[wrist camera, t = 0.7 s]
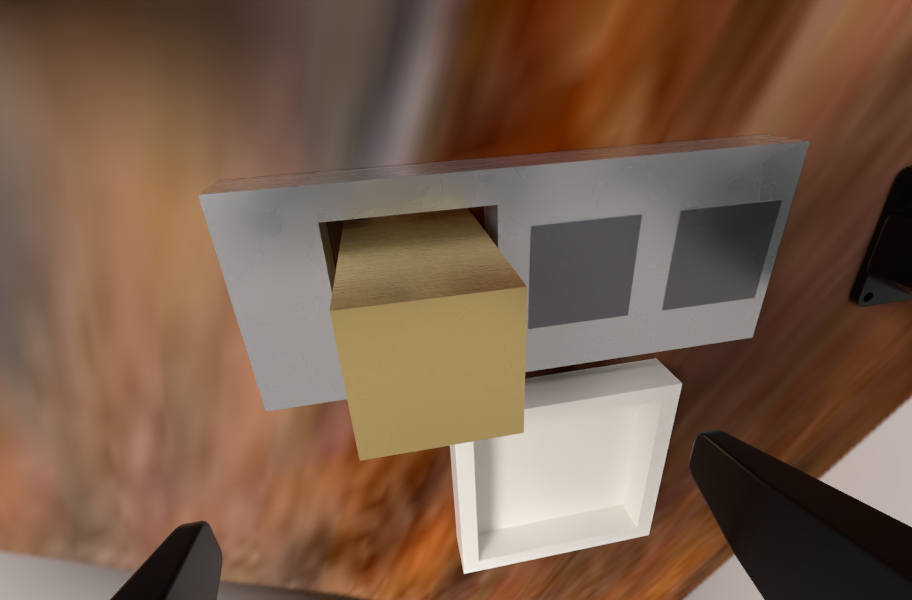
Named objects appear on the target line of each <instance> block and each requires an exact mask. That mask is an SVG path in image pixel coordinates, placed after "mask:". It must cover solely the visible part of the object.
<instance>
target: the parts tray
mask: <svg viewBox="0 0 912 600" xmlns="http://www.w3.org/2000/svg"><path fill="white" fill-rule="evenodd" d="M681 387H682V383H681V382H680V381H679V380H678V379H677V378H676V377H675V376H674V375H673V374H672V373H671V372H670V371H669V370H668V369H667V368H666V367H665V366H664V365H663V364H662V363H661V362H660V361H659V360H658V359H657V358H654V359H648V360H641V361H635V362H628V363H622V364H615V365H609V366H602V367H596V368H589V369H583V370H576V371H570V372H563V373H557V374H550V375H544V376H537V377H531V378H525V401H524V433H520V434H514V435H508V436H502V437H496V438H490V439H484V440H479V441H473V442H467V443H461V444H455V445H450V453H451V466H452V479H453V492H454V505H455V518H456V531H457V540H458V546H459V551H460V556H461V561H462V566H463V571H464V574H466V573H471V572H476V571H480V570H485V569H490V568H495V567H499V566H504V565H509V564H514V563H518V562H523V561H528V560H533V559H537V558H542V557H547V556H552V555H556V554H561V553H566V552H571V551H575V550H580V549H585V548H590V547H595V546H599V545H604V544H609V543H614V542H618V541H623V540H628V539H633V538H637V537H642V536H647V535H649V532H650V527H651V523H652V518H653V514H654V509H655V505H656V500H657V496H658V491H659V487H660V482H661V478H662V473H663V469H664V464H665V460H666V455H667V451H668V446H669V442H670V437H671V433H672V428H673V424H674V419H675V414H676V410H677V405H678V401H679V396H680V392H681Z"/></svg>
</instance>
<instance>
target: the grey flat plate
mask: <svg viewBox="0 0 912 600" xmlns="http://www.w3.org/2000/svg"><path fill="white" fill-rule="evenodd" d="M809 142H810V141H807V140H800V139H793V138H786V137H780V136H773V135H766V134H763V135H751V136H739V137H727V138H716V139H704V140H692V141H680V142H668V143H657V144H645V145H633V146H621V147H609V148H598V149H586V150H574V151H562V152H550V153H539V154H527V155H515V156H503V157H492V158H480V159H468V160H456V161H444V162H433V163H421V164H409V165H397V166H385V167H374V168H362V169H350V170H338V171H327V172H315V173H303V174H291V175H279V176H268V177H256V178H244V179H232V180H220V181H217V182H216V183H214V184H213V185H211V186H210V187H209V188H207V189H206V190H204V191H203V192H202V193H200V194H199V195H198V197H199V200H200V203H201V206H202V210H203V213H204V216H205V219H206V222H207V225H208V229H209V232H210V235H211V238H212V241H213V245H214V248H215V251H216V254H217V257H218V260H219V264H220V267H221V270H222V273H223V276H224V280H225V283H226V286H227V289H228V292H229V295H230V299H231V302H232V305H233V308H234V311H235V315H236V318H237V321H238V324H239V327H240V330H241V334H242V337H243V340H244V343H245V346H246V350H247V353H248V356H249V359H250V362H251V365H252V369H253V372H254V375H255V378H256V381H257V385H258V388H259V391H260V394H261V397H262V401H263V404H264V407H265V410H266V411H272V410H279V409H285V408H292V407H299V406H305V405H312V404H318V403H325V402H331V401H338V400H345V399H347V395H346V390H345V385H344V381H343V376H342V371H341V366H340V361H339V356H338V351H337V346H336V341H335V337H334V332H333V327H332V322H331V317H330V312H329V310H330V304H331V298H332V292H333V286H334V279H335V273H336V269H335V264H334V259H333V254H332V248H331V243H330V238H329V232H328V227H327V222H329V221H339V220H349V219H359V218H370V217H380V216H390V215H400V214H410V213H420V212H430V211H440V210H450V209H460V208H470V207H480V206H484V230H485V232H486V233H487V234H488V236H489V237H490V238H491V240H492V241H493V242H494V244H495V245H496V246H497V247H498V249H499V250H500V251H501V253H502V254H503V255H504V257H505V258H506V259H507V261H508V262H509V263H510V265H511V266H512V267H513V269H514V270H515V271H516V273H517V274H518V275H519V277H520V278H521V279H522V280H523V282H524V283H525V284H526V286H527V314H526V358H525V372H529V371H536V370H542V369H549V368H555V367H562V366H568V365H575V364H582V363H588V362H595V361H601V360H608V359H615V358H621V357H628V356H634V355H641V354H647V353H654V352H661V351H667V350H674V349H680V348H687V347H694V346H700V345H707V344H713V343H720V342H726V341H733V340H740V339H746V338H752V337H753V334H754V330H755V327H756V324H757V320H758V317H759V313H760V310H761V307H762V303H763V300H764V296H765V293H766V289H767V286H768V283H769V279H770V276H771V272H772V269H773V265H774V262H775V259H776V255H777V252H778V248H779V245H780V242H781V238H782V235H783V231H784V228H785V224H786V221H787V218H788V214H789V211H790V207H791V204H792V201H793V197H794V194H795V190H796V187H797V183H798V180H799V177H800V173H801V170H802V166H803V163H804V160H805V156H806V153H807V149H808V146H809Z"/></svg>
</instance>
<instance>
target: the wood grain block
mask: <svg viewBox="0 0 912 600" xmlns="http://www.w3.org/2000/svg"><path fill="white" fill-rule="evenodd" d="M329 312H330V317H331V322H332V327H333V332H334V337H335V341H336V346H337V351H338V356H339V361H340V366H341V371H342V376H343V381H344V385H345V390H346V395H347V400H348V405H349V410H350V415H351V420H352V424H353V429H354V434H355V439H356V444H357V449H358V454H359V459H360V461H361V460H366V459H372V458H378V457H384V456H390V455H396V454H402V453H408V452H414V451H420V450H425V449H431V448H437V447H443V446H449V445H455V444H461V443H467V442H473V441H479V440H484V439H490V438H496V437H502V436H508V435H514V434H520V433H524V401H525V358H526V314H527V286H526V284H525V283H524V282H523V280H522V279H521V278H520V277H519V275H518V274H517V273H516V271H515V270H514V269H513V267H512V266H511V265H510V263H509V262H508V261H507V259H506V258H505V257H504V255H503V254H502V253H501V251H500V250H499V249H498V247H497V246H496V245H495V244H494V242H493V241H492V240H491V238H490V237H489V236H488V234H487V233H486V232H485V230H484V229H483V228H482V226H481V225H480V224H479V222H478V221H477V220H476V218H475V217H474V216H473V214H472V213H471V212H470V211H469V209H468V208H466V209H456V210H446V211H436V212H426V213H416V214H405V215H395V216H385V217H375V218H365V219H355V220H345V221H344V224H343V230H342V236H341V242H340V249H339V255H338V261H337V267H336V273H335V279H334V286H333V292H332V298H331V304H330V310H329Z"/></svg>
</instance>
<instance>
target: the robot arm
mask: <svg viewBox="0 0 912 600" xmlns="http://www.w3.org/2000/svg"><path fill="white" fill-rule="evenodd" d="M911 299H912V166H909V167H906V168H905V169H903V170H902V171H901V172H900V174H899V175H898V177H897V179H896V181H895V184H894V186H893V189H892V191H891V194H890V196H889V199H888V202H887V204H886V207H885V209H884V212H883V214H882V217H881V220H880V222H879V225H878V227H877V230H876V232H875V235H874V237H873V240H872V243H871V245H870V248H869V250H868V253H867V255H866V258H865V261H864V263H863V266H862V268H861V271H860V273H859V276H858V278H857V281H856V284H855V286H854V289H853V291H852V294H851V301H852V302H853V303H856V304H858V305H860V306H871V305H877V304H884V303H891V302H898V301H905V300H911ZM689 468H690V472H691V475H692V477H693V479H694V481H695V483H696V485H697V486H698V488H699V490H700V492H701V494H702V496H703V498H704V499H705V501H706V503H707V505H708V507H709V509H710V510H711V512H712V514H713V516H714V518H715V520H716V522H717V523H718V525H719V527H720V529H721V531H722V533H723V534H724V536H725V538H726V540H727V542H728V543H729V545H730V547H731V549H732V550H733V552H734V554H735V555H736V557H737V558H738V560H739V561H740V563H741V565H742V566H743V568H744V569H745V571H746V572H747V574H748V575H749V577H750V578H751V580H752V581H753V583H754V584H755V586H756V587H757V589H758V590H759V592H760V593H761V595H762V596H763V598H764V599H765V600H912V527H910V526H908V525H906V524H904V523H902V522H900V521H898V520H896V519H894V518H892V517H890V516H888V515H886V514H884V513H883V512H880V511H878V510H877V509H875V508H873V507H871V506H869V505H867V504H865V503H863V502H861V501H859V500H857V499H855V498H853V497H851V496H849V495H847V494H845V493H843V492H841V491H839V490H837V489H835V488H833V487H831V486H829V485H827V484H825V483H823V482H822V481H820V480H818V479H816V478H814V477H812V476H810V475H808V474H806V473H804V472H802V471H800V470H798V469H796V468H794V467H792V466H790V465H788V464H786V463H784V462H782V461H780V460H778V459H776V458H774V457H772V456H770V455H768V454H766V453H764V452H763V451H761V450H759V449H757V448H755V447H753V446H751V445H749V444H747V443H745V442H743V441H741V440H739V439H737V438H735V437H733V436H731V435H729V434H727V433H725V432H723V431H720V430H712V431H706V432H701V433H699V434H698V435H697V436H696V437H695V441H694V445H693V449H692V453H691V457H690V461H689ZM221 568H222V552H221V549H220V547H219V545H218V542H217V540H216V538H215V536H214V534H213V531H212V529H211V527H210V525H209V524H208V523H207V522H206V521H198V522H193V523H187V524H183V525H180V526H179V527H177V528H176V529H175V530H174V531H173V532H172V533H171V534H170V535H169V536H168V537H167V538H166V540H165V541H164V542H163V543H162V544H161V545H160V546H159V547H158V548H157V549H156V550H155V551H154V553H153V554H152V555H151V556H150V557H149V558H148V559H147V560H146V561H145V562H144V563H143V564H142V566H141V567H140V568H139V569H138V570H137V571H136V572H135V573H134V574H133V575H132V576H131V578H130V579H129V580H128V581H127V582H126V583H125V584H124V585H123V586H122V587H121V588H120V589H119V591H118V592H117V593H116V594H115V595H114V596H113V597H112V598H111V599H110V600H217V594H218V587H219V581H220V575H221Z"/></svg>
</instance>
